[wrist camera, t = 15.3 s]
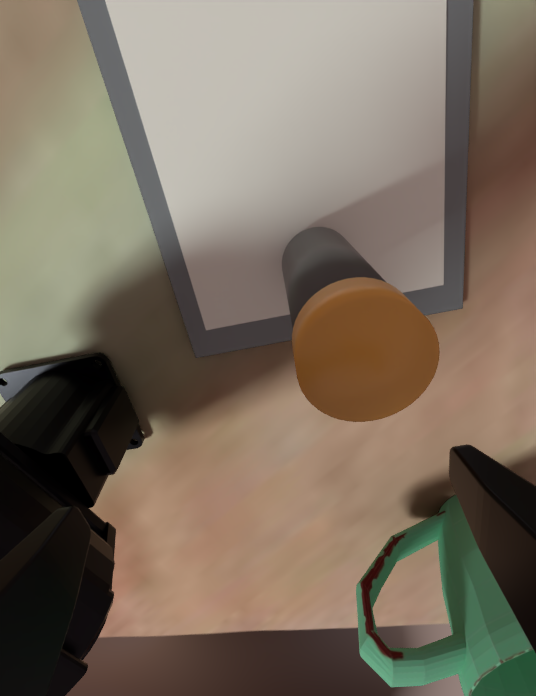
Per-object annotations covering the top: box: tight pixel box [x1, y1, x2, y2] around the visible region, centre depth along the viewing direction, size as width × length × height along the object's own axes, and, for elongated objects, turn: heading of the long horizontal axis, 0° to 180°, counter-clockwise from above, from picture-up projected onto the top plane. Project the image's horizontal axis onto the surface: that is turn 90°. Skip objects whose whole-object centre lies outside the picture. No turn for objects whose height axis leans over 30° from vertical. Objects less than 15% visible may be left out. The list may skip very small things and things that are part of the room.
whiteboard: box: [77, 0, 473, 358], centre depth 16 cm, size 14×18×2 cm
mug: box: [356, 495, 536, 696], centre depth 23 cm, size 15×10×10 cm
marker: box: [282, 227, 439, 422], centre depth 14 cm, size 3×3×10 cm
